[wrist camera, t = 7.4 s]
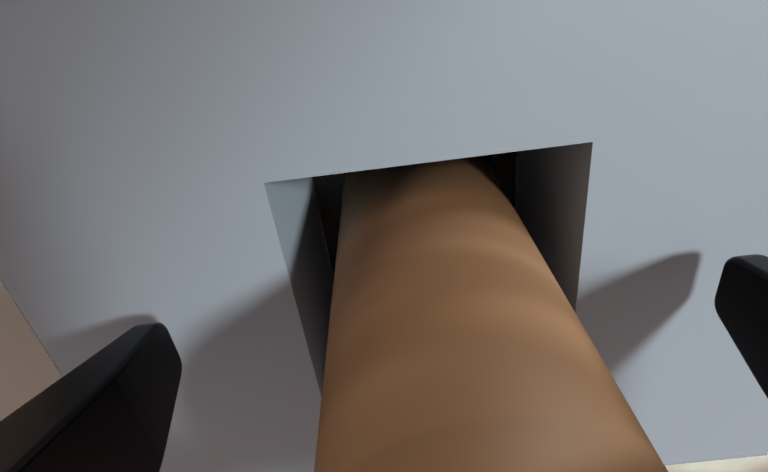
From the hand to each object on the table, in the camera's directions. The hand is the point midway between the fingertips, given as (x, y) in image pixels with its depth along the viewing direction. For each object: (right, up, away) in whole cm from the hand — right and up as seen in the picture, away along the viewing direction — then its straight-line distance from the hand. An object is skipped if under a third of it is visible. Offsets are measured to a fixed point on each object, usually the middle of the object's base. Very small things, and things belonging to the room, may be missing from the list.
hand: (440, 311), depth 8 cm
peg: (0, +2, +4) cm, 4 cm away
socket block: (0, +2, +4) cm, 4 cm away
